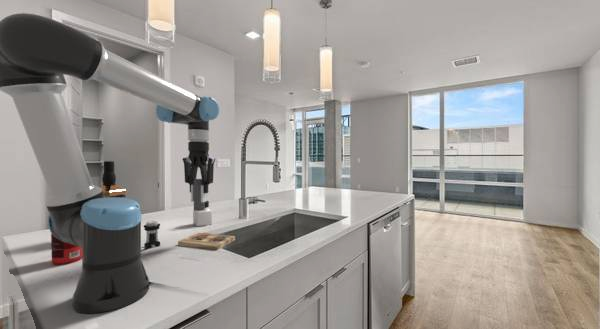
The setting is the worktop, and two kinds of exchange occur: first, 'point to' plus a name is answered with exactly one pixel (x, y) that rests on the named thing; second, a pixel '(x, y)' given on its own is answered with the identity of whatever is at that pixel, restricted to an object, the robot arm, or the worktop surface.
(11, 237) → the worktop surface
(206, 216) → the medicine bottle
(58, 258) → the canned food
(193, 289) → the worktop surface
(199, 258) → the deck pad
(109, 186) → the whiskey bottle
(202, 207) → the dark grey cylinder
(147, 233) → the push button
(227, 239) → the socket board
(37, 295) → the worktop surface
